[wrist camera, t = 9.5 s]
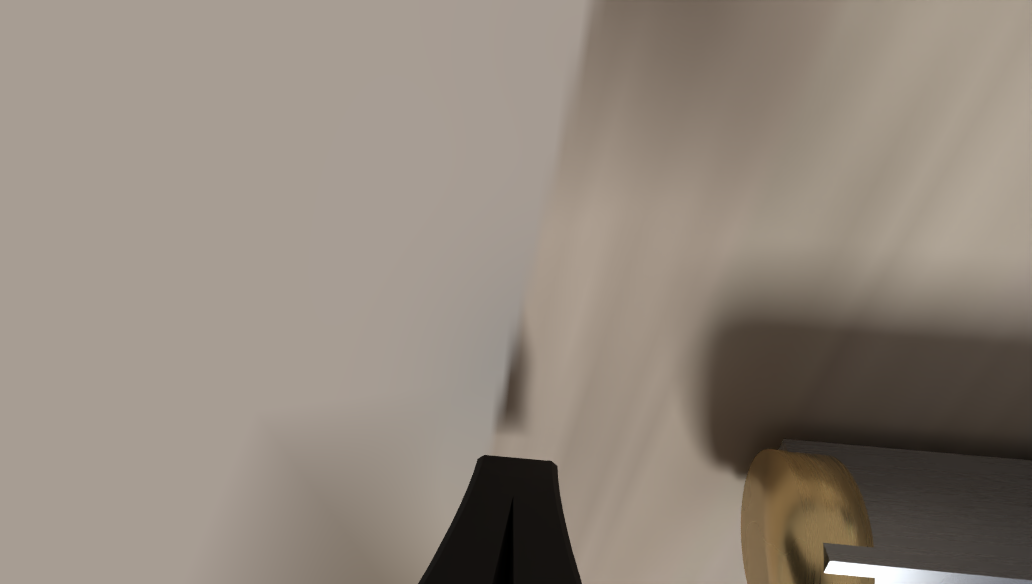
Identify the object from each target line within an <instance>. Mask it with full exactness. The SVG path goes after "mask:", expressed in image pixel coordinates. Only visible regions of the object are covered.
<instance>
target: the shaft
mask: <svg viewBox="0 0 1032 584" xmlns="http://www.w3.org/2000/svg"><path fill="white" fill-rule="evenodd" d="M741 542H742V554H743V562H744V569H745V575H746V580H747V584H1032V460H1021V459H1009V458H998V457H986V456H974V455H963V454H951V453H940V452H928V451H917V450H905V449H894V448H882V447H871V446H859V445H848V444H836V443H825V442H813V441H802V440H790V439H783V441H782V444H781V446H780V449H779V450H775V449H764V450H762V451H761V452H759V453H758V454H757V455H756V457H755V458H754V460H753V462H752V463H751V466H750V468H749V471H748V474H747V477H746V481H745V486H744V492H743V499H742V510H741Z"/></svg>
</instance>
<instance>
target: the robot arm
mask: <svg viewBox="0 0 1032 584" xmlns="http://www.w3.org/2000/svg"><path fill="white" fill-rule="evenodd" d="M418 584H582V582H581V579H580V575H579V572H578V569H577V565H576V562H575V558H574V555H573V551H572V548H571V544H570V540H569V536H568V532H567V527H566V523H565V518H564V514H563V509H562V503H561V497H560V491H559V483H558V469H557V466H556V465H555V464H554V463H553V462H552V461H544V460H533V459H522V458H511V457H500V456H489V455H484V456H482V457H480V458H479V459H478V460H477V463H476V466H475V470H474V473H473V475H472V478H471V481H470V484H469V486H468V488H467V491H466V493H465V495H464V498H463V500H462V502H461V504H460V507H459V508H458V511H457V513H456V515H455V517H454V519H453V521H452V523H451V526H450V527H449V529H448V531H447V533H446V535H445V537H444V539H443V541H442V542H441V544H440V546H439V548H438V550H437V552H436V554H435V555H434V557H433V559H432V561H431V563H430V565H429V566H428V568H427V570H426V572H425V573H424V575H423V577H422V578H421V580H420V582H419V583H418Z"/></svg>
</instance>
